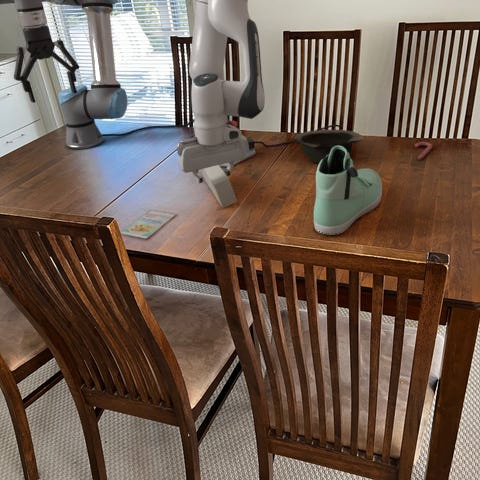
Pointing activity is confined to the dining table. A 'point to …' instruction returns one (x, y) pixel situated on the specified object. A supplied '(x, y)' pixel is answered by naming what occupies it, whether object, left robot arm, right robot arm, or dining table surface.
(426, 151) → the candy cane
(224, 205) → the bar
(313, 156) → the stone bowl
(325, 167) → the sneaker
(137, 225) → the baking ingredient package
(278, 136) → the dining table surface
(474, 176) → the dining table surface
